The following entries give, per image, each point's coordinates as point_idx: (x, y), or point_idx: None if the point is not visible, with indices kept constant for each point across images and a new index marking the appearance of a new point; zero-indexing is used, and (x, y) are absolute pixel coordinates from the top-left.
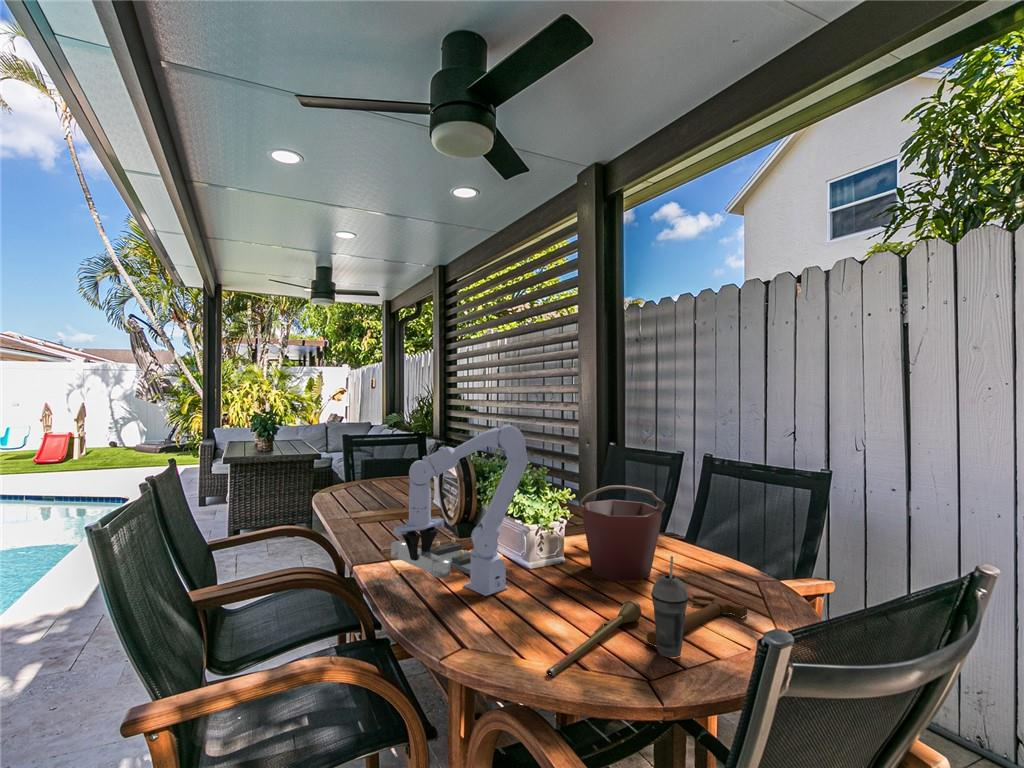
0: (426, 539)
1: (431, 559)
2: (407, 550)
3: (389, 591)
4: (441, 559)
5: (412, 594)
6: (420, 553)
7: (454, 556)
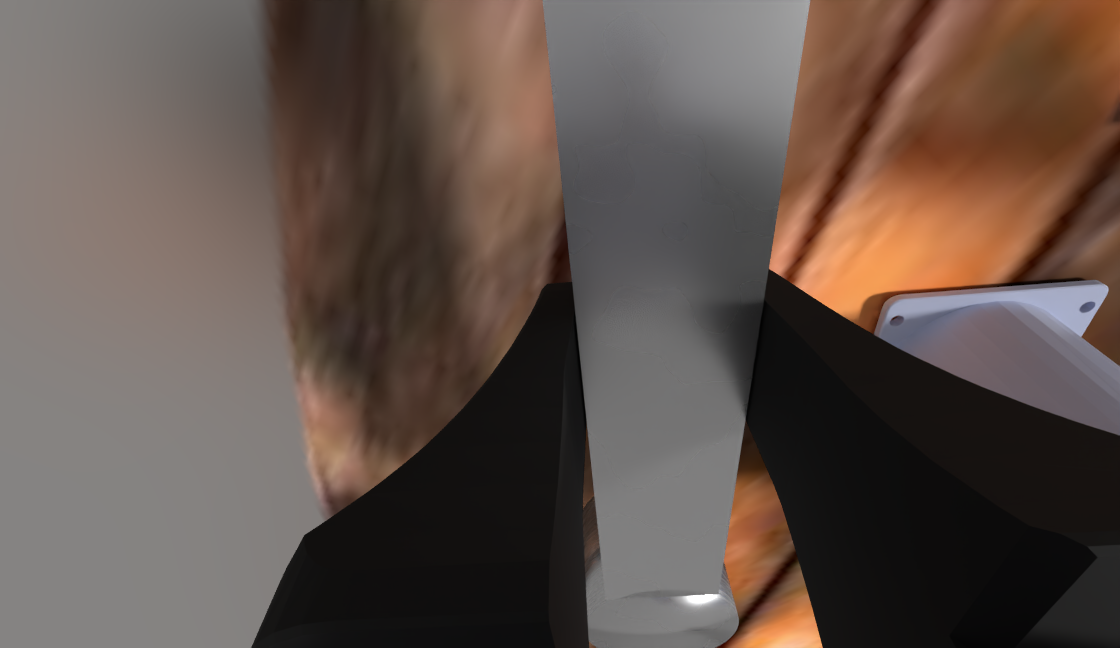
0: (824, 550)
1: (609, 587)
2: (565, 193)
3: (401, 35)
4: (679, 614)
5: (539, 210)
6: (627, 436)
7: None
